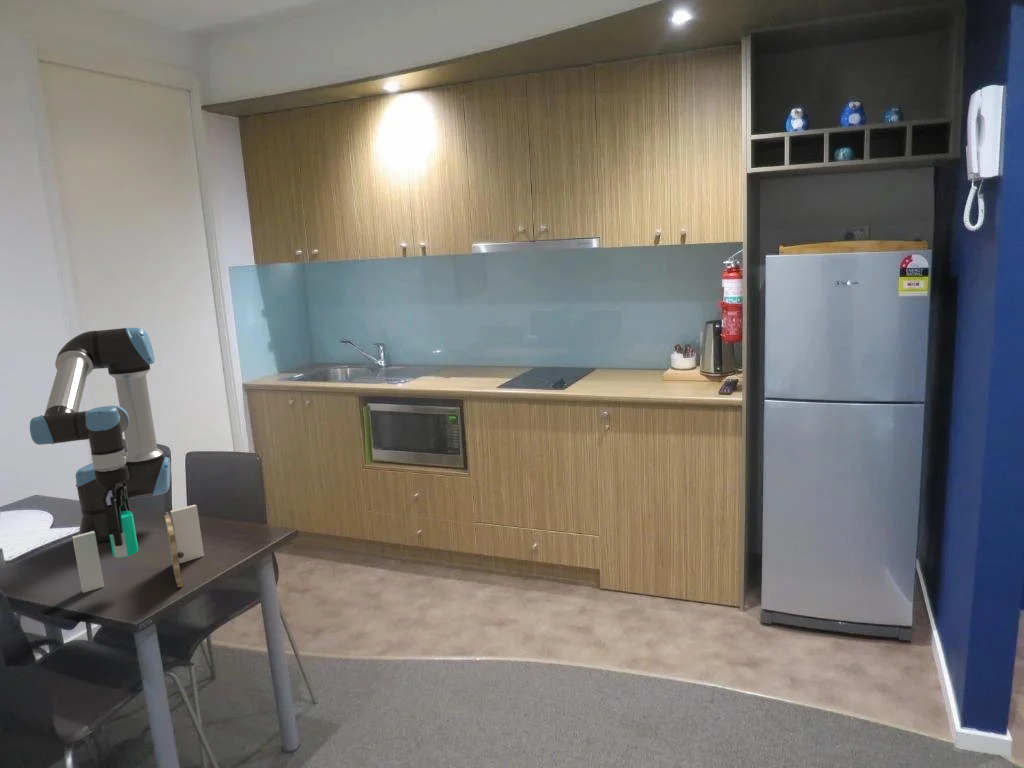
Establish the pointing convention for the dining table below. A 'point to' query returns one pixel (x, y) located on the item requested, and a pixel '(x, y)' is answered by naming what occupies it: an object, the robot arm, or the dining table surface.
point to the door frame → (185, 537)
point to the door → (174, 551)
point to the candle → (128, 533)
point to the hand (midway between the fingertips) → (124, 551)
